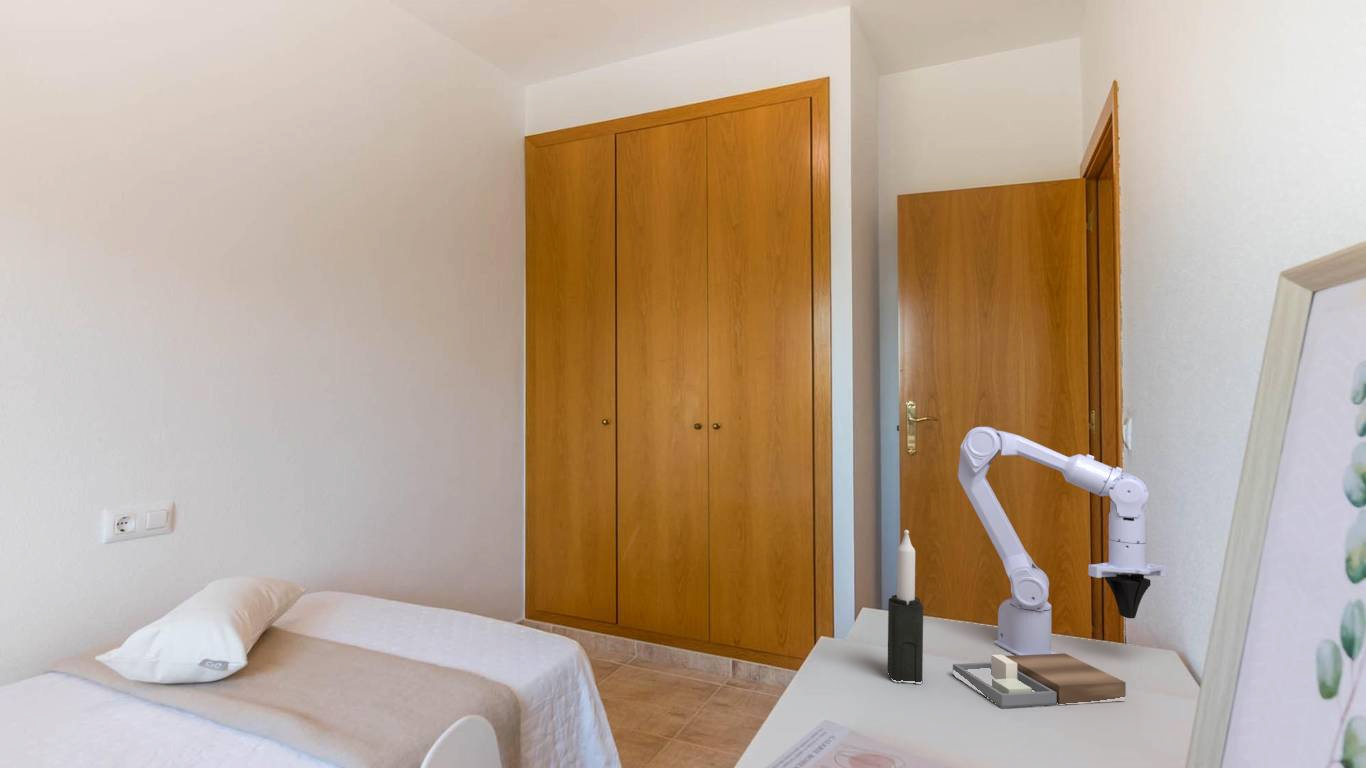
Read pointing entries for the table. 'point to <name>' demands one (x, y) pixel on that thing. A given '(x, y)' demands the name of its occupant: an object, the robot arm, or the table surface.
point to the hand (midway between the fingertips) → (1127, 616)
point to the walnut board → (1070, 677)
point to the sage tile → (1010, 686)
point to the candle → (905, 620)
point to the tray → (1009, 700)
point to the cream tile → (1003, 667)
